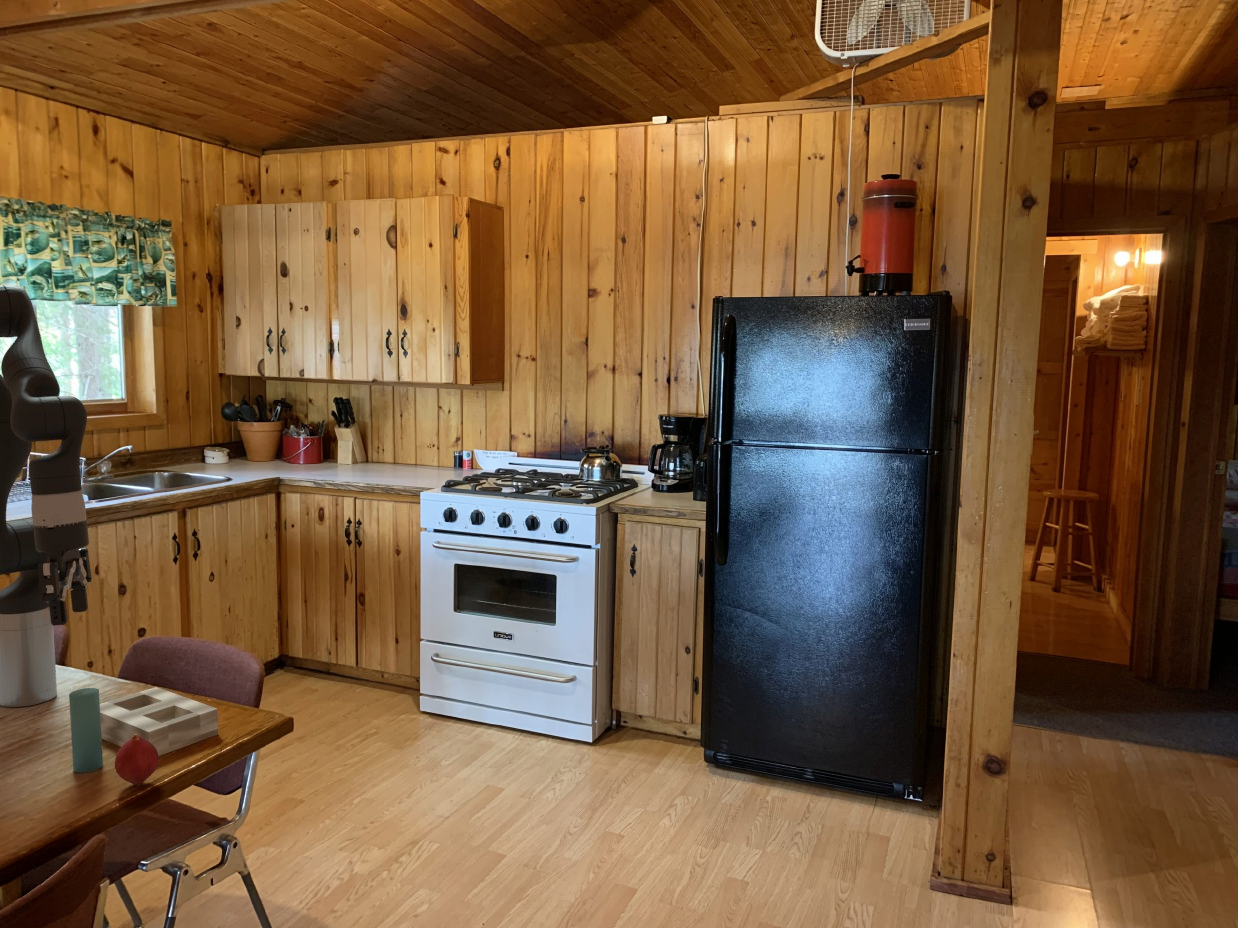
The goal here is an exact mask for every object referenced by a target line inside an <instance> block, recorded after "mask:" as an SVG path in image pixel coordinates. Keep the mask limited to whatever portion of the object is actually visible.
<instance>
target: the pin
mask: <svg viewBox="0 0 1238 928" xmlns="http://www.w3.org/2000/svg"><path fill="white" fill-rule="evenodd" d="M68 698H69V699H68V700H69V701H68V702H69V714H70V715H69V716H70V731H71V733H70V734H71V748H72V749H71V751H72V752H71V753H72V771H73V772H74V773H76V772H77V774H87V773H91V772H95V771H97V770H100V769H101V768H102V767H103V766H104V758H103V743H102V741H103V739H102V737H101V719H100V704H101V702H100V701H101V700H100V690H99V689H98V688H96V687H85V688H79V689H75V690H73V691H71V692H69V694H68Z"/></svg>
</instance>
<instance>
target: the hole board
mask: <svg viewBox="0 0 1238 928" xmlns="http://www.w3.org/2000/svg"><path fill="white" fill-rule="evenodd" d="M218 718H219V717H218V708H216V707H214V706H212V705H209V704H205V703H203V702H200V701H197V700H194V699H191V698H188V697H185V696H182V695H180V694H178V693H174V692H171V691H168V690H165V689H162V688H159V687H157V686H155V687H152V688H149V689H145V690H142V691H138V692H135V693H131V694H128V695H125V696H122V697H119V698H118V697H117V698H115V699H111V700H108V701H105V702H102V703H101V702H100V719H101V737H102V740H104V741H107V742H109V743H111V744H113V745H115V746H118V747H120V748H121V747H122V746H123V745H124V744H125V743H126V742H128V741H129V740H130V739H131V738H132V736H133V735H134V734H139V735H140V737H141V738H143V739H146V740H148V741H149V742H150V743H152V744H153V745H154V746H155V748H156V749H157V752H158V756H159V757H160V756H162V755H165V754H168V753H170V752H174V751H177V750H179V749H183V748H184V747H187V746H190V745H193V744H195V743H198V742H201V741H204V740H206V739H210V738H212V737H215V736H218V735H219V719H218Z"/></svg>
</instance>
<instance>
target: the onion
mask: <svg viewBox="0 0 1238 928" xmlns="http://www.w3.org/2000/svg"><path fill="white" fill-rule="evenodd" d="M159 757H160V756H158V752H157V749H156V748H155V746H154V745H153V744H152V743H150V742H149V741H148V740H146V739H143V738H141V737H140V735H139V734H134V735H133V736H132V738H131V739H130V740H129V741H128V742H126V743H125V744H124V745H123V746H122V747H120V748H119V750H118V751H117V753H116V755H115V759H114V760H115V761H114V769H115V773H116V774H117V775H118V776H119V778H120V779H122V780H124V781H125V782H128V783H130V784H132V785H133V786H136V787H137V786H141V785H143V784H144V783H145V782H146V780H147V779H149V778H150V777H151V776H152V774H154V772H156V769H157V767H158V764H159V759H160V758H159Z"/></svg>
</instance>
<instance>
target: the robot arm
mask: <svg viewBox="0 0 1238 928" xmlns="http://www.w3.org/2000/svg"><path fill="white" fill-rule="evenodd" d="M0 338H16V339H15V340H14V342H13V343H12V344H11V345H10V346H9V348H8V349H7V350H6V352H5V354H4V355H3V357H2V360H1V365H0V366H1V367H0V368H1V373H0V576H3V575H7V574H8V575H9V574H15V573H19V572H20V573H19V575H18V576H17V578H16V579H15V580H14V581H13V582H12V583H10V584H9V585H7V586H5V587H4V588H2V589H0V706H2V707H7V708H8V707H9V708H20V707H21V708H23V707H29V706H34V705H38V704H42V703H45V702H47V701H50V700H52V699H54V698H55V697H56V696H57V695H58V689H57V688H58V686H57V669H56V668H57V667H56V666H57V665H56V654H55V653H56V652H55V636H54V635H55V634H54V632H55V631H54V626H64V625H66V624H67V623H68V621H69V619H68V611H67V601H66V597H67V590H69V589H70V599H71V601H70V602H71V609H72V612H73V613H83V612H86V611H88V609H89V604H88V593H87V589H88V586H89V583H91V582H92V579H93V578H92V569H91V562H90V556H89V555H90V553H89V549H88V546H89V544H90V540H89V539H90V538H89V530H88V527H89V526H88V520H87V510H86V503H85V499H84V494H83V490H82V479H81V477H82V476H81V469H80V468H81V467H80V464H81V453H82V445H83V441H84V436H85V433H86V428H87V421H88V413H87V409H86V407H85V405H84V404H83V402H82V401H81V400H80V399H79V398H77V397H76V396H72V395H60V392H61V387H60V385H59V384H60V383H59V382H58V379H57V378H56V375H55V374H54V371H53V369H52V367H51V365H50V363H49V361H48V359H47V356H46V353H45V349H44V346H43V340H42V336H41V331H40V328H39V325H38V319H37V317H36V313H35V309H34V305H33V303H32V300H31V298H30V296H29V294H28V293H27V291H26V290H25V289H23V288H22V287H19V286H15V285H8V284H7V285H6V284H0ZM60 440H61V443H60V445H59V447H58V448H57V450H56V451H54V452H52V453H50V454H46V455H42V456H38V457H35V458H33V459H32V460H30V462H29V464H28V473H29V484H30V490H31V492H30V493H31V518H26V519H18V520H11V521H7V507H8V506H7V505H8V500H9V495H10V493H11V490H12V488H13V486H14V484H15V482H16V480H17V479H18V477H19V475H20V474H21V472H22V470H23V468H24V467H25V465H26V463H27V461H28V459H29V457H30V455H31V452H32V448H33V443H34V442H36V443H37V442H48V441H60Z"/></svg>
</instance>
